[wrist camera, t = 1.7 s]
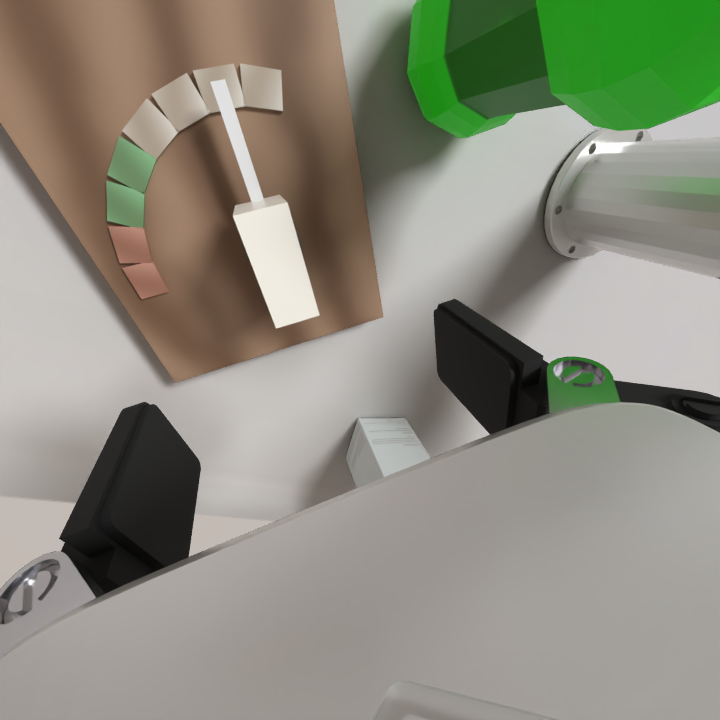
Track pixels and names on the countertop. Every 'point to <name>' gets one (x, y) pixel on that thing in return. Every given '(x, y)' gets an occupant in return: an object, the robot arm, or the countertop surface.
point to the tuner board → (193, 159)
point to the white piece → (268, 234)
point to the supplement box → (382, 449)
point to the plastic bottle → (563, 60)
